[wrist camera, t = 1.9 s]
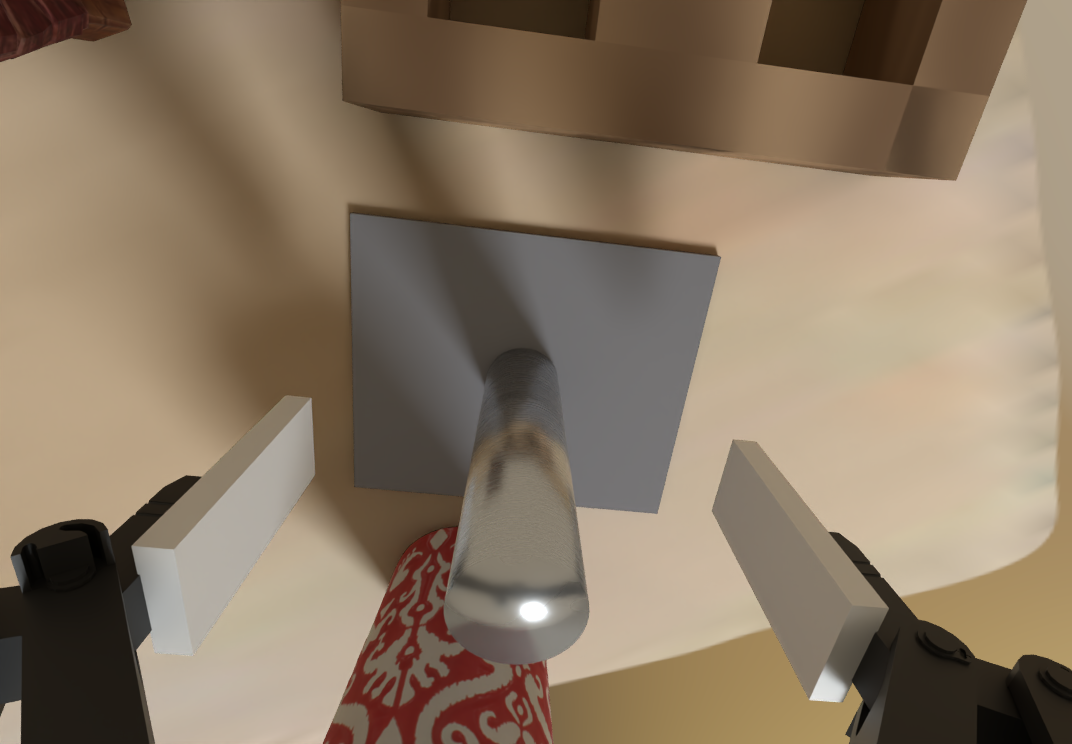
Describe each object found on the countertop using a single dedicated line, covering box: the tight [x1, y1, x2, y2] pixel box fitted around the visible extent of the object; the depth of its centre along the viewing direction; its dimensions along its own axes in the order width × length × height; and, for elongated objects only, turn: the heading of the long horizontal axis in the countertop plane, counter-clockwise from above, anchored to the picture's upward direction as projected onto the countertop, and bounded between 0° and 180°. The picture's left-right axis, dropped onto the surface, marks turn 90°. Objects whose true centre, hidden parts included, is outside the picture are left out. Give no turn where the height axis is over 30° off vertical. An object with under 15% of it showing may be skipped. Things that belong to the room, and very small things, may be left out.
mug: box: [323, 527, 553, 744], centre depth 21 cm, size 13×9×14 cm
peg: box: [444, 348, 589, 665], centre depth 16 cm, size 3×3×12 cm
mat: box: [350, 213, 721, 514], centre depth 22 cm, size 14×12×1 cm
